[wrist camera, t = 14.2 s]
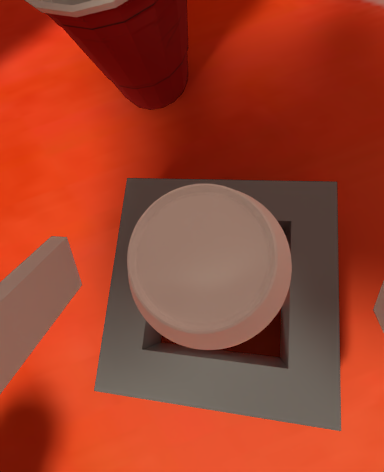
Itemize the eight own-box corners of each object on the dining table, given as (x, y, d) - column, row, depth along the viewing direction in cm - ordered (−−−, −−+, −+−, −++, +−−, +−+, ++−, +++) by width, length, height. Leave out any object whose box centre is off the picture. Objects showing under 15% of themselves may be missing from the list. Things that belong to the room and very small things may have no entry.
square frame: (121, 376, 21) (94, 390, 17) (146, 199, 24) (127, 178, 20) (320, 405, 18) (341, 430, 14) (320, 204, 21) (337, 181, 17)
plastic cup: (86, 137, 26) (-38, 1, 15) (110, 36, 28) (19, -150, 17) (209, 140, 24) (176, -16, 12) (223, 31, 26) (207, -186, 15)
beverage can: (163, 296, 21) (71, 278, 10) (212, 226, 22) (178, 135, 11) (236, 351, 20) (225, 405, 8) (286, 273, 20) (341, 225, 9)
